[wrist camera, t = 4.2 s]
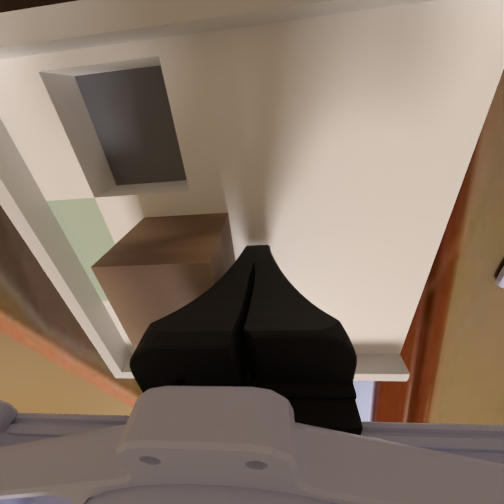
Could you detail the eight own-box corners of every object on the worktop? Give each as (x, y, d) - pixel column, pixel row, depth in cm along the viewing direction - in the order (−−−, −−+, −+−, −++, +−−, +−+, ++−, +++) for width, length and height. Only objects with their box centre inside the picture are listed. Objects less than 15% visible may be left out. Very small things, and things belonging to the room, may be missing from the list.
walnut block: (228, 212, 12) (209, 262, 9) (238, 281, 15) (227, 345, 11) (144, 217, 13) (90, 267, 9) (167, 284, 15) (132, 345, 11)
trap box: (484, -17, 9) (606, -84, 6) (383, 333, 20) (407, 381, 16) (-2, 51, 11) (-116, 31, 8) (139, 335, 22) (115, 378, 19)
